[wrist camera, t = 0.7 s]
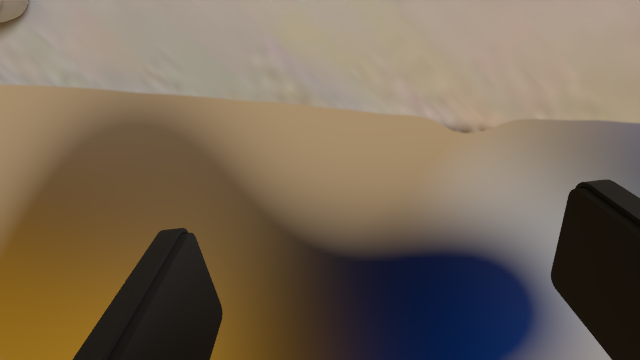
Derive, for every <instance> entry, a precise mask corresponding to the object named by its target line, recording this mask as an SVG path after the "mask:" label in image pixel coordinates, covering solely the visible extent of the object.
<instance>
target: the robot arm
mask: <svg viewBox="0 0 640 360" xmlns="http://www.w3.org/2000/svg"><path fill="white" fill-rule="evenodd" d="M551 280H552V283H553V285H554V287H555V289H556V290H557V291H558V292H559V293H560V295H561V296H562V297H563V299H564V300H565V301H566V302H567V303H568V305H569V306H570V307H571V308H572V310H573V311H574V312H575V313H576V315H577V316H578V317H579V319H580V320H581V321H582V322H583V324H584V325H585V326H586V327H587V329H588V330H589V331H590V332H591V334H592V335H593V336H594V337H595V339H596V340H597V341H598V342H599V344H600V345H601V346H602V347H603V349H604V350H605V351H606V353H607V354H608V355H609V356H610V358H611V359H612V360H640V198H638V197H637V196H635V195H634V194H632V193H631V192H629V191H627V190H626V189H624V188H623V187H621V186H620V185H618V184H616V183H615V182H613V181H611V180H597V181H589V182H581V183H579V184H578V185H577V186H576V188H575V189H573V190H571V192H570V193H569V196H568V200H567V205H566V209H565V213H564V218H563V223H562V227H561V232H560V236H559V240H558V244H557V249H556V253H555V258H554V262H553V266H552V271H551ZM221 320H222V307H221V304H220V301H219V298H218V296H217V293H216V290H215V288H214V285H213V282H212V280H211V277H210V274H209V272H208V269H207V266H206V264H205V261H204V258H203V256H202V253H201V250H200V248H199V245H198V242H197V240H196V237H195V235H194V234H193V233H188V231H187V230H186V229H185V228H178V229H170V230H162V231H160V232H159V233H158V234H157V236H156V237H155V239H154V240H153V242H152V243H151V245H150V246H149V248H148V249H147V251H146V252H145V253H144V255H143V256H142V258H141V259H140V261H139V262H138V264H137V265H136V267H135V268H134V270H133V271H132V273H131V274H130V276H129V277H128V279H127V280H126V282H125V283H124V285H123V286H122V287H121V289H120V290H119V292H118V293H117V295H116V296H115V298H114V299H113V301H112V302H111V304H110V305H109V307H108V308H107V310H106V311H105V313H104V314H103V315H102V317H101V318H100V320H99V321H98V323H97V324H96V326H95V327H94V329H93V330H92V332H91V333H90V335H89V336H88V338H87V339H86V341H85V342H84V344H83V345H82V347H81V348H80V350H79V351H78V352H77V354H76V355H75V357H74V359H73V360H210V357H211V354H212V350H213V347H214V344H215V340H216V337H217V334H218V330H219V327H220V324H221Z"/></svg>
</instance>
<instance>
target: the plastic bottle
mask: <svg viewBox="0 0 640 360" xmlns="http://www.w3.org/2000/svg"><path fill="white" fill-rule="evenodd" d="M28 2H29V0H0V23H1V22H6V21H9V20H12V19H15V18H17V17H19V16H20V15H22V14H23V13H24V11H25V10H26V8H27V5H28Z"/></svg>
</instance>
